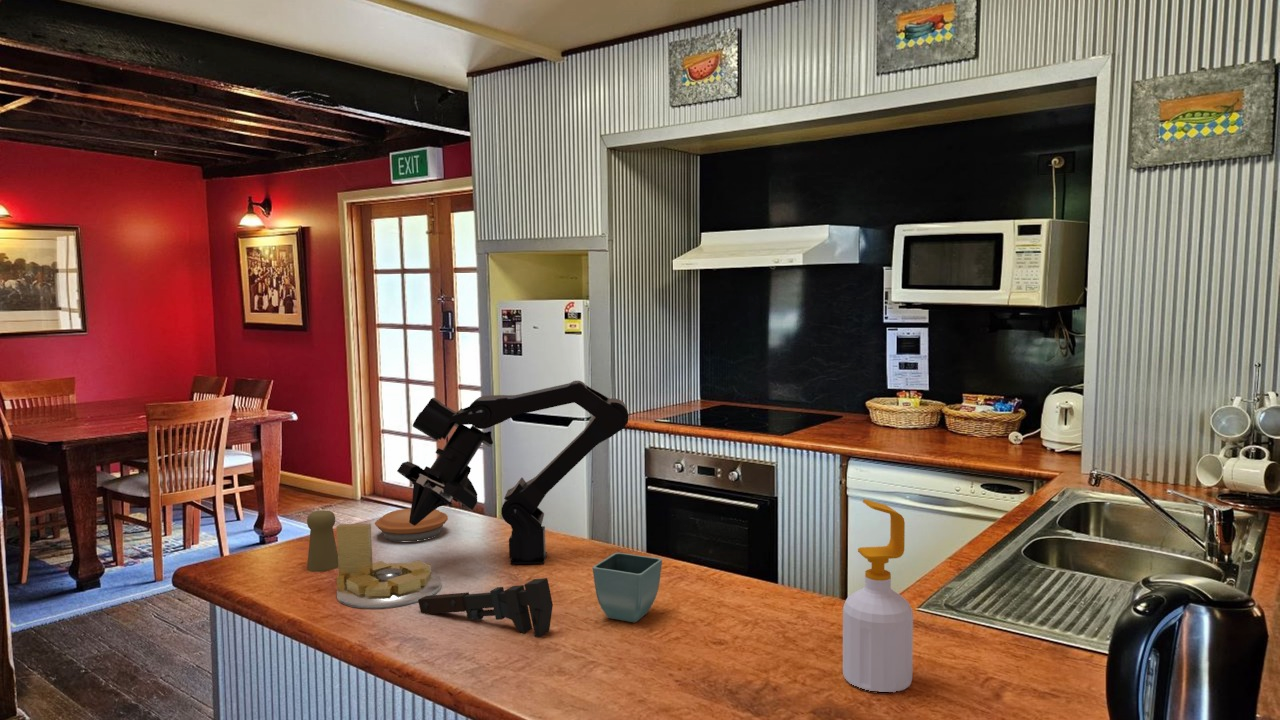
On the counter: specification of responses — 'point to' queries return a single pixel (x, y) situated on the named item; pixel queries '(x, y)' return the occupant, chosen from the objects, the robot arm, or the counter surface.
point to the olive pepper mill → (322, 542)
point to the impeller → (386, 601)
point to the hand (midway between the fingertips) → (411, 524)
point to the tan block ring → (373, 565)
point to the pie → (410, 525)
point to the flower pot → (627, 585)
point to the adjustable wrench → (500, 605)
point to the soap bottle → (879, 620)
